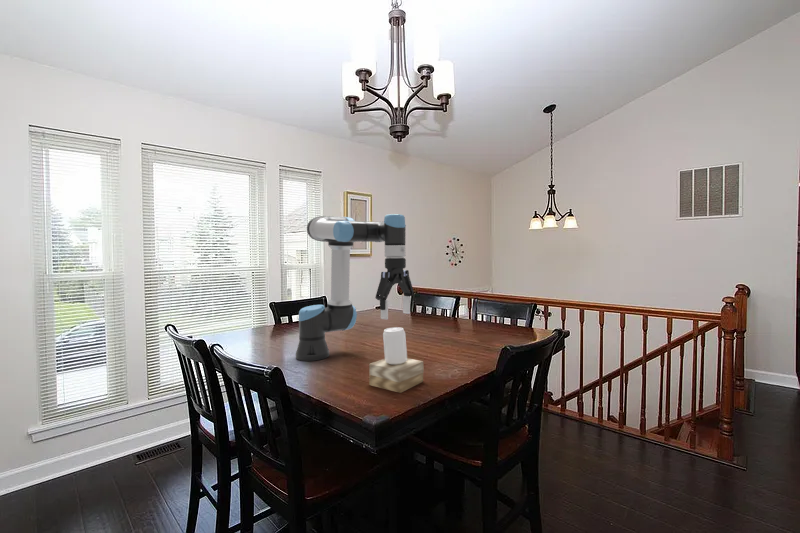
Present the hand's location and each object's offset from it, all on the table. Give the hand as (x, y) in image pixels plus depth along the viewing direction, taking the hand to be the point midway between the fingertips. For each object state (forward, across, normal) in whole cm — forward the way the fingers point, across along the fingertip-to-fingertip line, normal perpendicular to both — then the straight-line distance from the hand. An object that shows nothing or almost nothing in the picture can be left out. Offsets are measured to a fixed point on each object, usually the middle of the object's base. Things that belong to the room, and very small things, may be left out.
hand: (395, 316), depth 140 cm
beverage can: (+17, 0, 0) cm, 17 cm away
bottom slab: (+25, 0, 0) cm, 25 cm away
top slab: (+21, 0, 0) cm, 21 cm away
